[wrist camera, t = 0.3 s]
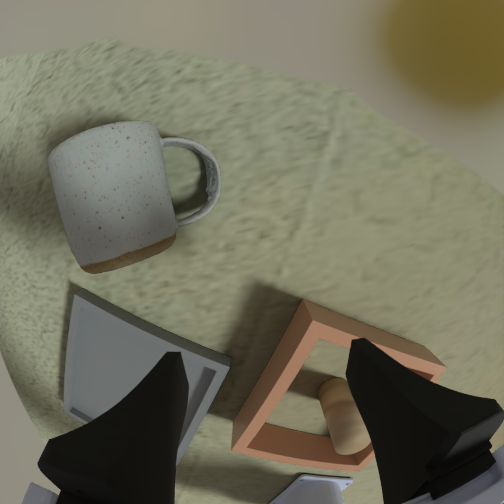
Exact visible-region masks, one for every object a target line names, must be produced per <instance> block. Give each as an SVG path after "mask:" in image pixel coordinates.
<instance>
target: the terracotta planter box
mask: <svg viewBox="0 0 504 504" xmlns="http://www.w3.org/2000/svg"><path fill="white" fill-rule="evenodd" d="M318 338H321V339H324V340H326V341H329V342H332V343H335V344H338V345H341V346H343V347H346V348H349V349H350V347H351V340H352V339H358V338H366V339H367V340H369V341H370V342H372V343H373V344H374V345H376V346H377V347H378V348H380V349H381V350H382V351H384V352H385V353H386V354H388V355H389V356H390V357H392V358H393V359H395V360H396V361H397V362H399V363H400V364H402V365H403V366H405V367H406V368H408V369H410V370H411V371H413V372H415V373H416V374H418V375H420V376H422V377H424V378H426V379H428V380H430V381H432V382H434V383H437V381H438V380H439V378H440V377H441V375H442V374H443V372H444V371H445V369H446V368H447V367H446V366H445V365H444V364H443V363H442V362H441V361H440V360H439V359H438V358H437V357H436V356H435V355H434V354H433V353H432V352H431V351H430V350H428V349H427V348H426V347H424V346H422V345H419V344H416V343H414V342H411V341H408V340H406V339H403V338H400V337H398V336H395V335H392V334H390V333H387V332H385V331H382V330H380V329H377V328H374V327H372V326H369V325H367V324H364V323H362V322H359V321H356V320H354V319H351V318H349V317H346V316H344V315H341V314H339V313H336V312H334V311H331V310H329V309H326V308H324V307H321V306H319V305H316V304H314V303H311V302H309V301H307V300H304V299H302V301H301V303H300V305H299V307H298V309H297V311H296V313H295V315H294V316H293V318H292V320H291V322H290V324H289V326H288V328H287V330H286V331H285V333H284V335H283V337H282V339H281V341H280V342H279V344H278V346H277V348H276V350H275V352H274V353H273V355H272V357H271V359H270V360H269V362H268V364H267V366H266V367H265V369H264V371H263V373H262V374H261V376H260V378H259V380H258V381H257V383H256V385H255V386H254V388H253V390H252V391H251V393H250V395H249V396H248V398H247V400H246V401H245V403H244V405H243V406H242V408H241V410H240V411H239V413H238V414H237V416H236V418H235V419H234V421H233V432H232V445H231V451H234V452H238V453H242V454H246V455H250V456H254V457H259V458H263V459H268V460H273V461H278V462H283V463H288V464H294V465H301V466H308V467H315V468H323V469H333V470H344V471H361V470H362V469H363V468H364V467H365V466H366V465H367V464H368V463H369V462H370V461H371V460H372V459H373V458H374V457H375V454H374V450H373V446H372V443H371V442H370V444H369V445H368V446H367V447H365V448H364V449H363V450H361V451H359V452H356V453H353V454H349V455H342V454H338V453H337V452H336V451H335V449H334V446H333V443H332V439H331V437H326V436H320V435H315V434H310V433H305V432H300V431H296V430H291V429H287V428H283V427H279V426H275V425H271V424H267V423H265V421H266V420H267V419H268V417H269V416H270V414H271V413H272V411H273V410H274V408H275V407H276V406H277V404H278V403H279V401H280V400H281V398H282V397H283V395H284V394H285V392H286V391H287V389H288V387H289V386H290V384H291V383H292V381H293V380H294V378H295V376H296V375H297V373H298V372H299V370H300V368H301V367H302V365H303V364H304V362H305V360H306V359H307V357H308V355H309V354H310V352H311V350H312V349H313V347H314V345H315V344H316V342H317V340H318Z"/></svg>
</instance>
